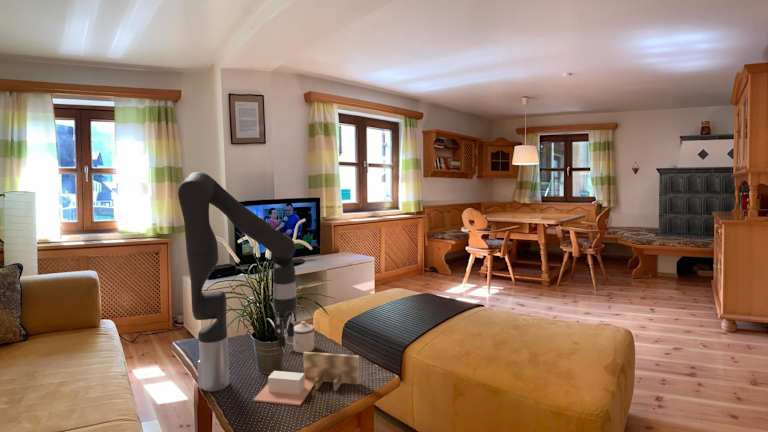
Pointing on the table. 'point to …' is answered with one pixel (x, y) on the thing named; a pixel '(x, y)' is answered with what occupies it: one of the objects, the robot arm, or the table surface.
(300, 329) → the teacup with lid
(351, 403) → the table surface
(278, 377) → the white block
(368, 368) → the table surface
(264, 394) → the terracotta tile
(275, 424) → the table surface
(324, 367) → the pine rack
